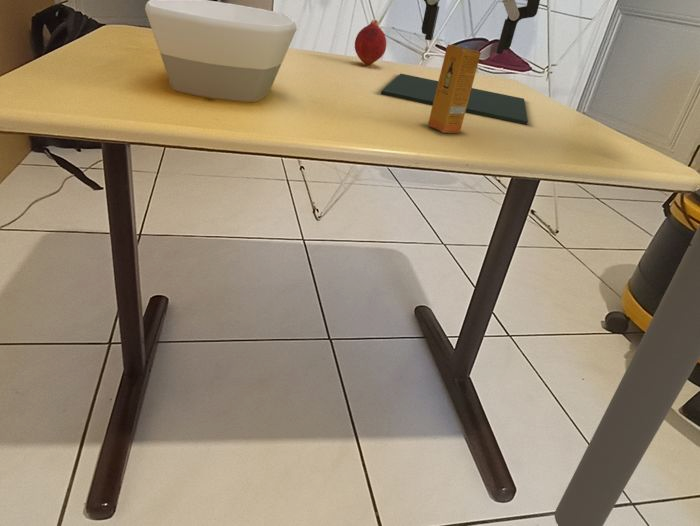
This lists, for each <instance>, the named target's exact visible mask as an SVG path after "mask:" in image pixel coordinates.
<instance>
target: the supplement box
mask: <svg viewBox="0 0 700 526" xmlns="http://www.w3.org/2000/svg"><path fill="white" fill-rule="evenodd" d="M481 54H482V52H481V51H479V50H475V49H472V48H469V47H465V46H461V45H457V44H456V45H455V44H447V46H446V49H445V53H444V57H443V60H442V65H441V70H440V74H439V77H438V80H437V81H438V85H437V89H436V93H435V98H434V102H433V105H432V106H431V110H430V115H429V118H428V123H427V125H428V127H430V128H433V129H435V130H437V131H439V132H441V133H443V134H459V133H461V130H462V127H463V123H464V119H465V116H466V113H467V112H466V108H467V104H468V100H469V96H470V92H471V89H472V88H473V85H474V82H475V81H474V80H475V77H476V72H477V68H478V66H479V61H480V57H481Z"/></svg>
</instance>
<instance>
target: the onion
mask: <svg viewBox="0 0 700 526" xmlns="http://www.w3.org/2000/svg"><path fill="white" fill-rule="evenodd" d="M378 23H379V21H378V20H377V19H372V20H371V22H370V23H369V24H368V25H366V26H364V27H362V29H360V30H359V32H358V33H357V34H356V37H355V39H354V51H355V54H356V55H357V57H358V58H359V60H360V61H361V62H362V63H363V64H364V65H365V66H368V67H369V66H371V65H372V64H374V63H376V62H377V61H379V60H380V59H381V58H382V57H383V55H385V52H386V49H387V39H386V35H385V33H384V31H383V30H382V29H381V28H380V27H379V26H378Z"/></svg>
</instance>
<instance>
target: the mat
mask: <svg viewBox="0 0 700 526" xmlns="http://www.w3.org/2000/svg"><path fill="white" fill-rule="evenodd" d="M438 81H439V80H435V79H430V78H426V77H420V76H416V75H411V74H410V75H409V74H406V73H399V74H398V75H397V76H396V77H395V78H394V79H393V80H391V82H389V83H388V84H387V85H386V86H384V87H383V89H382V90H381V91H380V94H381V95H383V96H389V97H394V98H399V99H403V100H408V101H412V102H416V103H421V104H426V105H432V106H433V102H434V98H435V93H436V89H437V85H438ZM465 113H469V114H474V115H478V116H484V117H488V118H493V119H498V120H502V121H507V122H512V123H517V124H521V125H526V126H527V125H528V124H529V123H528V122H529V119H528V114H527V107H526V102H525V98H524V97H519V96H515V95H508V94H504V93H498V92H493V91H488V90H484V89H478V88H474V87H472V89H471V92H470V96H469V100H468V104H467V108H466V112H465Z"/></svg>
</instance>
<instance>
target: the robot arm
mask: <svg viewBox="0 0 700 526" xmlns="http://www.w3.org/2000/svg"><path fill="white" fill-rule="evenodd" d="M423 1H424V2H425V9H424V14H423V20H422V25H421V34H423V35H425V36H424V37H425V38H424V40H425V41H432V40H433V39H434V34H435V30H436V24H437V21H438V16H439V12H440V6H439V2H440V1H441V0H423ZM501 1H502V3H503V6H504V8H505V12H506V14H507V18H504V22H503V26H502V29H501V34H500V35H499V36H500V37H499V41H498V44H497V48H496V52H495V54H496V55H503V53H504V51H509V49H510V47H511V46H512V43H513V40H514V36H515V32H516V28H517V25H518V23H519V22H520V21H521V20H524V19H531V18H534V17H536V15H537V14H538V11H539V6H540V2H541V0H527V2H526V5H525V6H518V5H517V2H516V0H501Z"/></svg>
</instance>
